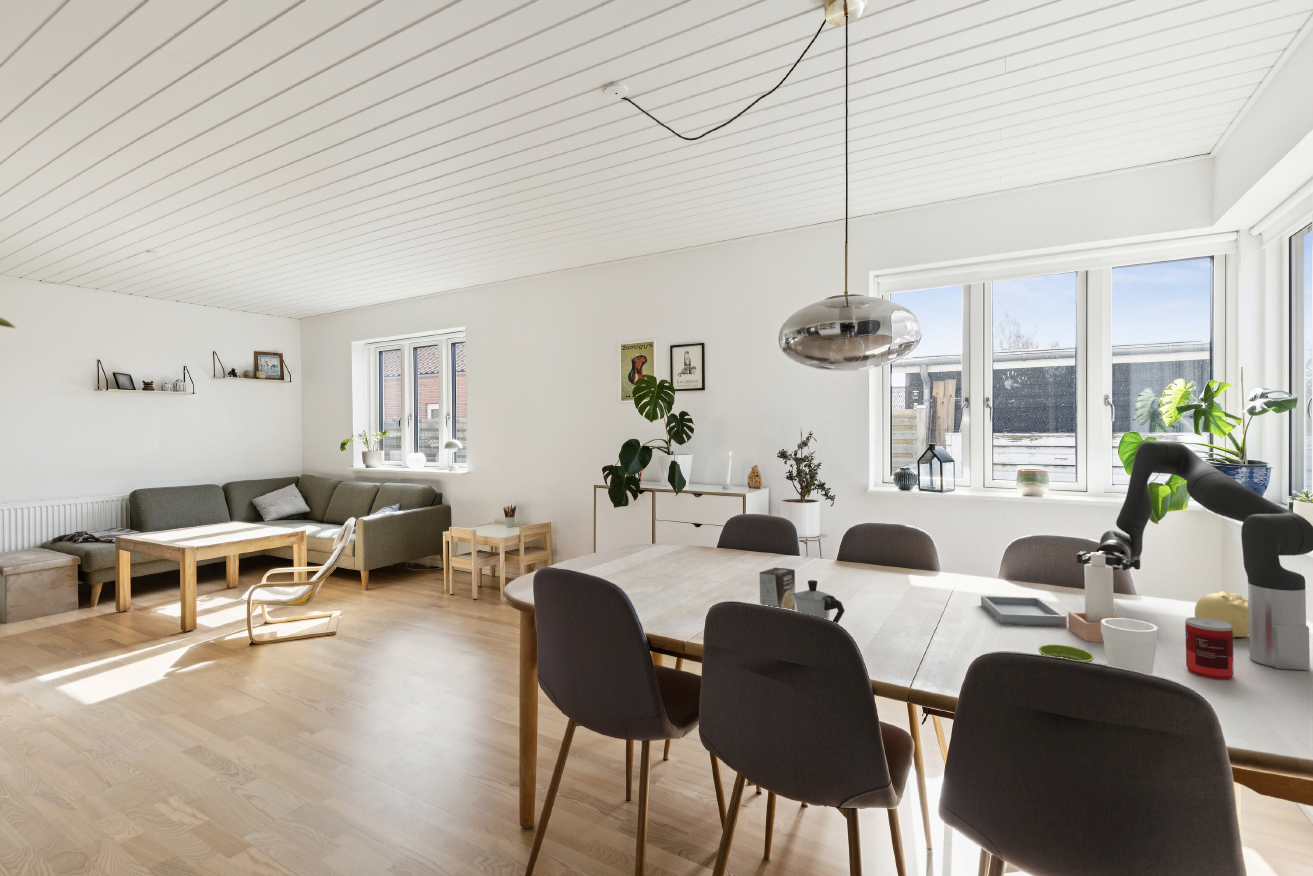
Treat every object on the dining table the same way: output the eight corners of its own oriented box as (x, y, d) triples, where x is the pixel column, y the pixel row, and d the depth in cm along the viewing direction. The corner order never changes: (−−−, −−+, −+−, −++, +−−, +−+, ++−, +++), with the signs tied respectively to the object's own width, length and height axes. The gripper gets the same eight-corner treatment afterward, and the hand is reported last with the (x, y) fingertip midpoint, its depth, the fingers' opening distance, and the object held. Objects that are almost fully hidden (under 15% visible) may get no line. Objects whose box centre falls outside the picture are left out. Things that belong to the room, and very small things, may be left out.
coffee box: (780, 635, 169) (779, 575, 169) (759, 630, 173) (758, 572, 173) (796, 626, 176) (795, 569, 176) (776, 622, 180) (774, 566, 180)
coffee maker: (782, 652, 156) (780, 579, 156) (803, 644, 162) (802, 573, 162) (833, 668, 145) (832, 589, 145) (855, 658, 150) (853, 583, 150)
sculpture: (1261, 644, 153) (1260, 600, 153) (1196, 636, 160) (1195, 593, 160) (1254, 632, 162) (1253, 590, 162) (1193, 624, 169) (1192, 584, 169)
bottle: (1119, 640, 159) (1117, 556, 158) (1092, 639, 160) (1090, 556, 160) (1107, 632, 164) (1105, 552, 164) (1081, 631, 166) (1079, 551, 166)
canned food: (1209, 665, 140) (1208, 616, 140) (1244, 679, 132) (1243, 627, 132) (1176, 667, 140) (1175, 617, 140) (1209, 681, 132) (1207, 628, 132)
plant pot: (1084, 687, 130) (1083, 646, 130) (1103, 707, 121) (1101, 662, 121) (1033, 684, 133) (1032, 643, 133) (1047, 702, 124) (1046, 658, 124)
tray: (1066, 626, 170) (1066, 616, 170) (1001, 624, 174) (1001, 614, 174) (1039, 606, 190) (1038, 597, 190) (981, 605, 193) (980, 595, 193)
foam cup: (1140, 679, 134) (1138, 618, 134) (1171, 697, 125) (1169, 631, 125) (1092, 678, 135) (1091, 617, 135) (1119, 696, 126) (1118, 631, 126)
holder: (1133, 643, 156) (1133, 625, 156) (1086, 641, 158) (1085, 623, 158) (1113, 630, 166) (1112, 613, 166) (1068, 628, 168) (1068, 612, 168)
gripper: (1083, 538, 187) (1073, 547, 175) (1144, 544, 178) (1137, 553, 166) (1083, 564, 187) (1073, 574, 175) (1144, 570, 178) (1137, 582, 166)
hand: (1104, 564), depth 171 cm, fingers open, 8 cm apart
